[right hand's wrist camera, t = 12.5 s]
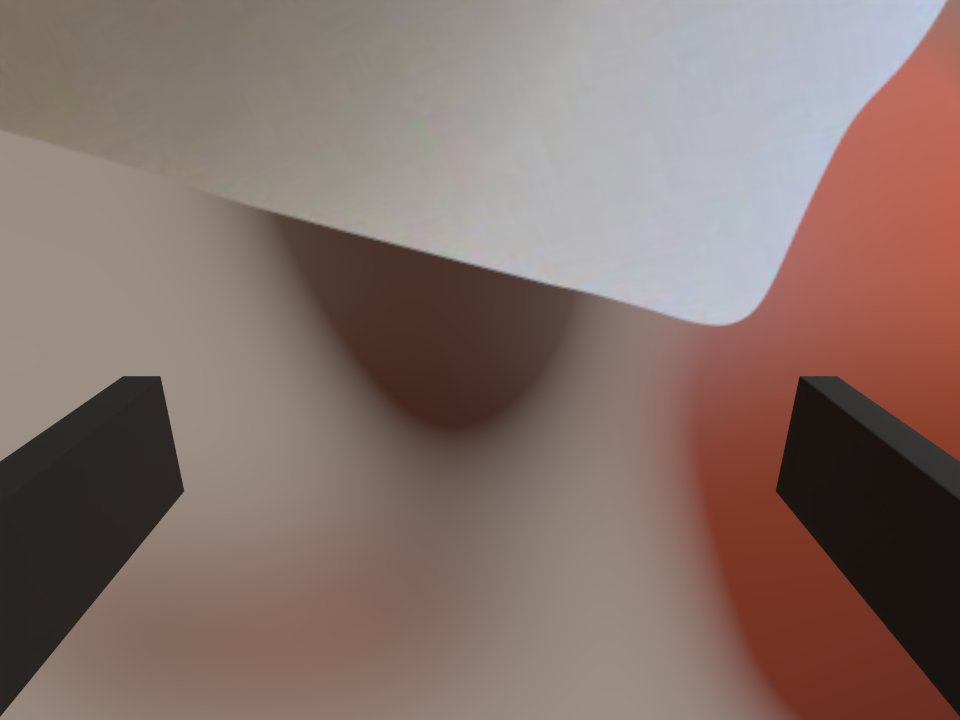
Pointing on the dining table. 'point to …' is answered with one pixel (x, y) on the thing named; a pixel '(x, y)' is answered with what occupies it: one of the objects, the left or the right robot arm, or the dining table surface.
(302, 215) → the dining table surface
